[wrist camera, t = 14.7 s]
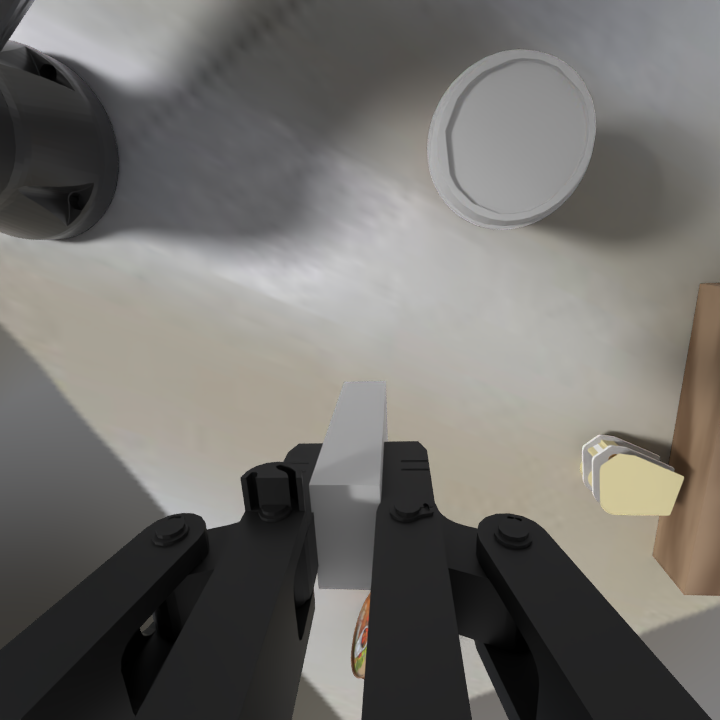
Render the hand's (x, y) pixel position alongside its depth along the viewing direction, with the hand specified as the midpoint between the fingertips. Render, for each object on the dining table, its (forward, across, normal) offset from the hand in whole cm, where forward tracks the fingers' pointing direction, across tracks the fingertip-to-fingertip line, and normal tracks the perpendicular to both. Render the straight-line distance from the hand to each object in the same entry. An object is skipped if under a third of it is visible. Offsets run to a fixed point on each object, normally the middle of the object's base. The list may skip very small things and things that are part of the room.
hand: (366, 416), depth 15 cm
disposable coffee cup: (+25, +8, +11) cm, 28 cm away
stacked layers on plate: (+25, +21, -16) cm, 36 cm away
